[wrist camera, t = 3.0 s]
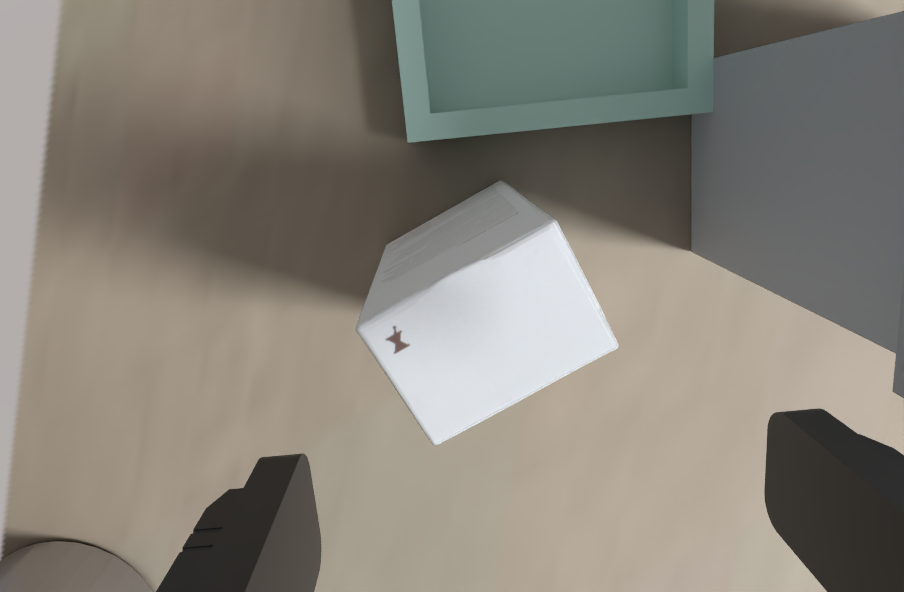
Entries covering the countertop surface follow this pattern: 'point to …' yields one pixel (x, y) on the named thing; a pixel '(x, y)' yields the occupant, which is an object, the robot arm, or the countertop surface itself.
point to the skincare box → (480, 311)
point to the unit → (810, 175)
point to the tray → (550, 63)
